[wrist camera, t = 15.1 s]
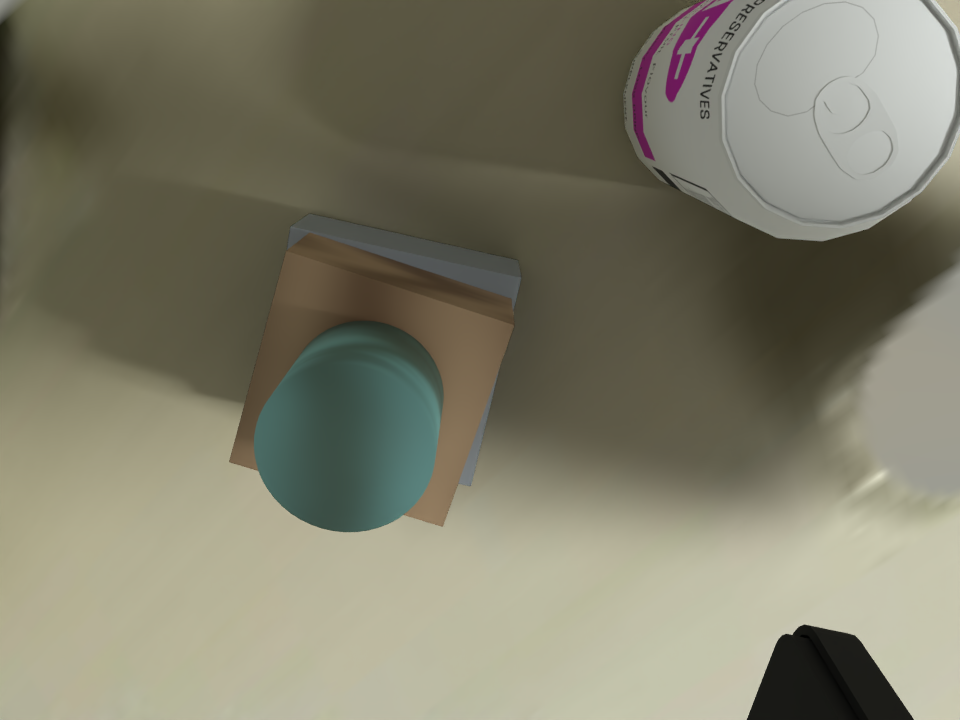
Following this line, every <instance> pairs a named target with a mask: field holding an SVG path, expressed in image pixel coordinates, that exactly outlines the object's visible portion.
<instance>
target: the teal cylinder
mask: <svg viewBox="0 0 960 720" xmlns="http://www.w3.org/2000/svg"><path fill="white" fill-rule="evenodd" d="M443 400H444V393H443V384H442V379H441V376H440V373H439V370H438V368H437V365H436V363H435V361H434V360H433V358H432V357H431V355H430V354H429V352H428V351H427V350H426V349H425V348H424V346H423V345H422V344H421V343H419V342H418V341H417V340H416V339H415V338H414V337H412V336H411V335H409V334H408V333H406V332H404V331H403V330H401V329H399V328H397V327H394V326H391V325H389V324H385V323H381V322H375V321H353V322H347V323H343V324H340V325H336V326H334V327H332V328H330V329H327V330H326V331H324V332H322V333H321V334H319V335H318V336H317V337H316V338H314V339H313V340H312V341H311V342H310V343H309V344H308V345H307V346H306V347H305V349H304V350H303V351H302V353H301V354H300V356H299V357H298V358H297V360H296V361H295V363H294V364H293V365H292V367H291V368H290V370H289V371H288V372H287V374H286V375H285V377H284V378H283V379H282V381H281V382H280V384H279V385H278V386H277V388H276V389H275V391H274V392H273V393H272V395H271V396H270V398H269V399H268V401H267V402H266V403H265V405H264V407H263V409H262V411H261V413H260V415H259V418H258V421H257V424H256V429H255V434H254V453H255V460H256V464H257V468H258V471H259V473H260V476H261V478H262V480H263V482H264V484H265V485H266V487H267V489H268V490H269V492H270V493H271V494H272V496H273V497H274V498H275V499H276V500H277V501H278V502H279V503H280V504H281V506H283V507H284V508H285V509H286V510H287V511H289V512H290V513H291V514H293V515H294V516H296V517H297V518H299V519H301V520H303V521H305V522H307V523H309V524H311V525H314V526H317V527H319V528H322V529H327V530H332V531H339V532H360V531H367V530H371V529H375V528H379V527H381V526H384V525H386V524H389V523H391V522H393V521H394V520H396V519H398V518H400V517H401V516H402V515H404V514H405V513H406V512H408V511H409V510H410V509H411V508H412V507H413V506H414V505H415V504H416V503H417V501H418V500H419V499H420V498H421V496H422V495H423V493H424V492H425V490H426V488H427V486H428V484H429V482H430V479H431V477H432V473H433V469H434V464H435V458H436V451H437V444H438V437H439V430H440V423H441V416H442V409H443Z"/></svg>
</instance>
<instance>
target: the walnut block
mask: <svg viewBox="0 0 960 720" xmlns="http://www.w3.org/2000/svg"><path fill="white" fill-rule="evenodd" d="M353 321H375V322H381V323H385V324H389V325H391V326H394V327H397V328H399V329H401V330H403V331H404V332H406V333H408V334H409V335H411V336H412V337H414V338H415V339H416V340H417V341H418V342H419V343H421V344H422V345H423V346H424V348H425V349H426V350H427V351H428V352H429V354H430V355H431V357H432V358H433V360H434V361H435V363H436V365H437V368H438V370H439V373H440V376H441V379H442V384H443V393H444V400H443V409H442V416H441V423H440V430H439V437H438V444H437V451H436V458H435V464H434V469H433V473H432V477H431V479H430V482H429V484H428V486H427V488H426V490H425V492H424V493H423V495H422V496H421V498H420V499H419V500H418V501H417V503H416V504H415V505H414V506H413V507H412V508H411V509H410V510H409V511H408V512H406V513H405V514H404V515H406V516H409V517H412V518H416V519H419V520H422V521H425V522H429V523H432V524H435V525H439V526H442V527H443V525H444V522H445V519H446V516H447V513H448V511H449V508H450V505H451V502H452V499H453V497H454V494H455V491H456V488H457V485H458V483H459V480H460V477H461V474H462V471H463V469H464V466H465V463H466V460H467V457H468V455H469V452H470V449H471V446H472V443H473V441H474V438H475V435H476V432H477V429H478V427H479V424H480V421H481V418H482V415H483V413H484V410H485V407H486V404H487V401H488V399H489V396H490V393H491V390H492V387H493V385H494V382H495V379H496V376H497V373H498V371H499V368H500V365H501V362H502V359H503V357H504V354H505V351H506V348H507V345H508V343H509V340H510V337H511V334H512V332H513V329H514V326H515V324H514V315H513V307H512V299H511V298H508V297H505V296H502V295H499V294H496V293H493V292H490V291H487V290H483V289H480V288H477V287H474V286H471V285H468V284H465V283H462V282H459V281H456V280H453V279H450V278H447V277H444V276H441V275H438V274H435V273H432V272H429V271H426V270H423V269H420V268H417V267H414V266H411V265H407V264H404V263H401V262H398V261H395V260H392V259H389V258H386V257H383V256H380V255H377V254H374V253H371V252H368V251H365V250H362V249H359V248H356V247H353V246H350V245H347V244H344V243H341V242H338V241H335V240H331V239H328V238H325V237H322V236H319V235H316V234H313V233H308V234H307V235H306V236H304V237H303V238H302V239H301V240H299V241H298V242H297V243H295V244H294V245H293V246H292V247H290V248H289V249H288V250H286V253H285V256H284V260H283V264H282V268H281V271H280V275H279V279H278V282H277V286H276V290H275V294H274V297H273V301H272V305H271V308H270V312H269V316H268V319H267V323H266V327H265V331H264V334H263V338H262V342H261V345H260V349H259V353H258V357H257V360H256V364H255V368H254V371H253V375H252V379H251V383H250V386H249V390H248V394H247V397H246V401H245V405H244V409H243V412H242V416H241V420H240V423H239V427H238V431H237V435H236V438H235V442H234V446H233V449H232V453H231V457H230V460H229V462H231V463H234V464H237V465H241V466H244V467H247V468H250V469H254V470H257V471H258V468H257V464H256V460H255V453H254V434H255V429H256V424H257V421H258V418H259V415H260V413H261V411H262V409H263V407H264V405H265V403H266V402H267V401H268V399H269V398H270V396H271V395H272V393H273V392H274V391H275V389H276V388H277V386H278V385H279V384H280V382H281V381H282V379H283V378H284V377H285V375H286V374H287V372H288V371H289V370H290V368H291V367H292V365H293V364H294V363H295V361H296V360H297V358H298V357H299V356H300V354H301V353H302V351H303V350H304V349H305V347H306V346H307V345H308V344H309V343H310V342H311V341H312V340H313V339H314V338H316V337H317V336H318V335H319V334H321V333H322V332H324V331H326V330H327V329H330V328H332V327H334V326H336V325H340V324H343V323H347V322H353Z"/></svg>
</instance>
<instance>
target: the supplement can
mask: <svg viewBox="0 0 960 720" xmlns="http://www.w3.org/2000/svg"><path fill="white" fill-rule="evenodd" d="M623 100H624V119H625V129H626V131H627V134H628V136H629V138H630V141H631V143H632V145H633V148H634V150H635V153H636V155H637V157H638V158H639V159H640V160H641V161H642V163H643V164H644V165H645V166H646V167H647V168H648V169H649V170H650V171H651V172H652V173H653V174H654V175H655V176H656V177H657V178H658V179H659V180H660V181H662V182H664V183H666V184H668V185H670V186H672V187H674V188H676V189H678V190H680V191H682V192H684V193H686V194H688V195H690V196H692V197H694V198H696V199H698V200H700V201H702V202H704V203H706V204H708V205H710V206H712V207H714V208H716V209H718V210H720V211H722V212H724V213H726V214H728V215H730V216H732V217H734V218H736V219H738V220H740V221H742V222H744V223H746V224H748V225H751V226H753V227H755V228H757V229H759V230H761V231H763V232H765V233H768V234H770V235H772V236H774V237H776V238H784V239H798V240H811V241H826V240H829V239H833V238H837V237H840V236H844V235H848V234H851V233H855V232H859V231H862V230H866V229H869V228H871V227H872V226H874V225H875V224H877V223H878V222H880V221H881V220H883V219H884V218H886V217H887V216H889V215H890V214H892V213H893V212H895V211H896V210H898V209H899V208H901V207H903V206H904V205H906V204H907V203H909V202H910V201H911V200H912V198H914V197H915V196H917V195H918V194H920V193H921V192H922V191H923V190H924V188H925V187H926V186H927V185H928V184H929V182H930V181H931V180H932V179H933V178H934V176H935V175H936V174H937V173H938V171H939V170H940V169H941V168H942V167H943V165H944V164H945V163H946V162H947V160H948V159H949V158H950V156H951V154H952V151H953V149H954V146H955V144H956V141H957V139H958V136H959V134H960V35H959V32H958V28H957V27H956V26H955V24H954V23H953V22H952V21H951V19H950V18H949V17H948V15H947V14H946V13H945V12H944V10H943V9H942V8H941V7H940V6H939V4H938V3H937V2H936V1H935V0H704V1H702V2H699V3H697V4H695V5H692V6H690V7H688V8H685V9H683V10H681V11H680V12H678V13H677V14H676V15H674V16H673V17H671V18H670V19H669V20H667V21H666V22H665V23H663V24H662V25H661V26H659V27H658V28H657V29H655V30H654V31H653V32H652V33H651V35H650V36H649V38H648V39H647V41H646V42H645V43H644V45H643V46H642V48H641V49H640V51H639V52H638V54H637V55H636V56H635V58H634V59H633V61H632V65H631V68H630V72H629V75H628V79H627V82H626V86H625V89H624V93H623Z"/></svg>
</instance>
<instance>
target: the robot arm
mask: <svg viewBox="0 0 960 720" xmlns="http://www.w3.org/2000/svg"><path fill="white" fill-rule="evenodd" d="M747 720H914V719H913V718H912V716H911V715H910V713H909V712H908V710H907V709H906V707H905V706H904V704H903V703H902V701H901V700H900V698H899V697H898V696H897V694H896V693H895V691H894V690H893V688H892V687H891V685H890V684H889V682H888V681H887V679H886V678H885V676H884V675H883V674H882V672H881V671H880V669H879V668H878V666H877V665H876V663H875V662H874V660H873V659H872V657H871V656H870V654H869V653H868V652H867V650H866V649H865V647H864V646H863V644H862V643H861V641H860V640H859V639H858V638H857V637H856V636H855V635H851V634H847V633H843V632H838V631H833V630H828V629H823V628H819V627H814V626H809V625H802V626H800V627H798V628H797V630H796V631H795V632H794V633H793V635H789V634H785V635H782V636H781V637H780V638H779V640H778V641H777V643H776V645H775V648H774V651H773V653H772V656H771V658H770V661H769V664H768V666H767V669H766V671H765V674H764V677H763V679H762V682H761V684H760V687H759V690H758V692H757V695H756V697H755V700H754V703H753V705H752V708H751V710H750V713H749V716H748V718H747Z"/></svg>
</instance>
